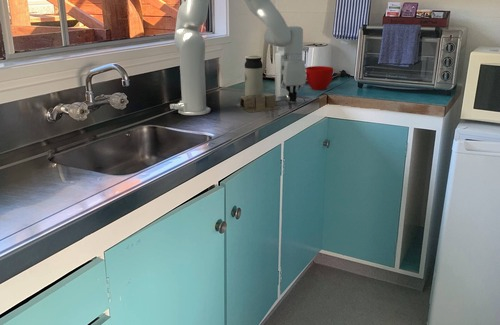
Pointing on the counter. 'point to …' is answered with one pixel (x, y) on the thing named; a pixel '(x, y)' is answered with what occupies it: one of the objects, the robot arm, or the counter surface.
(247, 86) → the travel mug
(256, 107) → the hinge
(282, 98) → the pin
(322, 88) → the ceramic cup
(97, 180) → the counter surface
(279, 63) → the milk
